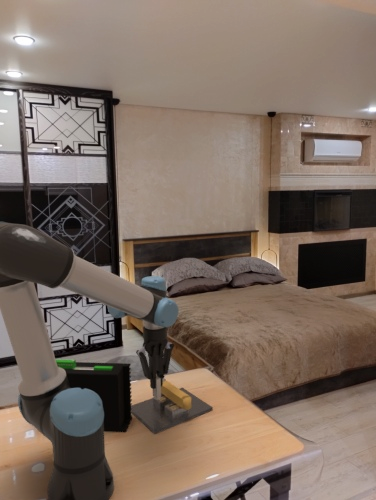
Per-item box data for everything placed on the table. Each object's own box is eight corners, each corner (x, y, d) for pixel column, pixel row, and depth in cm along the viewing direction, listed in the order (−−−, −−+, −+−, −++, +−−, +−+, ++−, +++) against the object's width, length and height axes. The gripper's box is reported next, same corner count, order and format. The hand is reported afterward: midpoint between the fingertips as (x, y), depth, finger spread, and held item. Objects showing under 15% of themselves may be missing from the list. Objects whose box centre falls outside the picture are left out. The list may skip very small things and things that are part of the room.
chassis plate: (154, 433, 118) (154, 422, 118) (126, 408, 132) (126, 398, 132) (212, 410, 131) (212, 399, 130) (181, 389, 145) (181, 379, 145)
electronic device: (134, 413, 130) (132, 353, 127) (126, 432, 119) (123, 368, 117) (50, 409, 133) (47, 351, 130) (35, 428, 122) (31, 365, 119)
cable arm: (153, 395, 138) (153, 379, 137) (162, 392, 140) (162, 377, 139) (184, 419, 123) (184, 401, 122) (194, 415, 125) (194, 398, 124)
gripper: (142, 333, 119) (145, 408, 122) (178, 324, 127) (180, 395, 130) (130, 326, 125) (133, 398, 128) (165, 318, 133) (167, 386, 136)
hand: (156, 396), depth 129 cm, fingers closed
